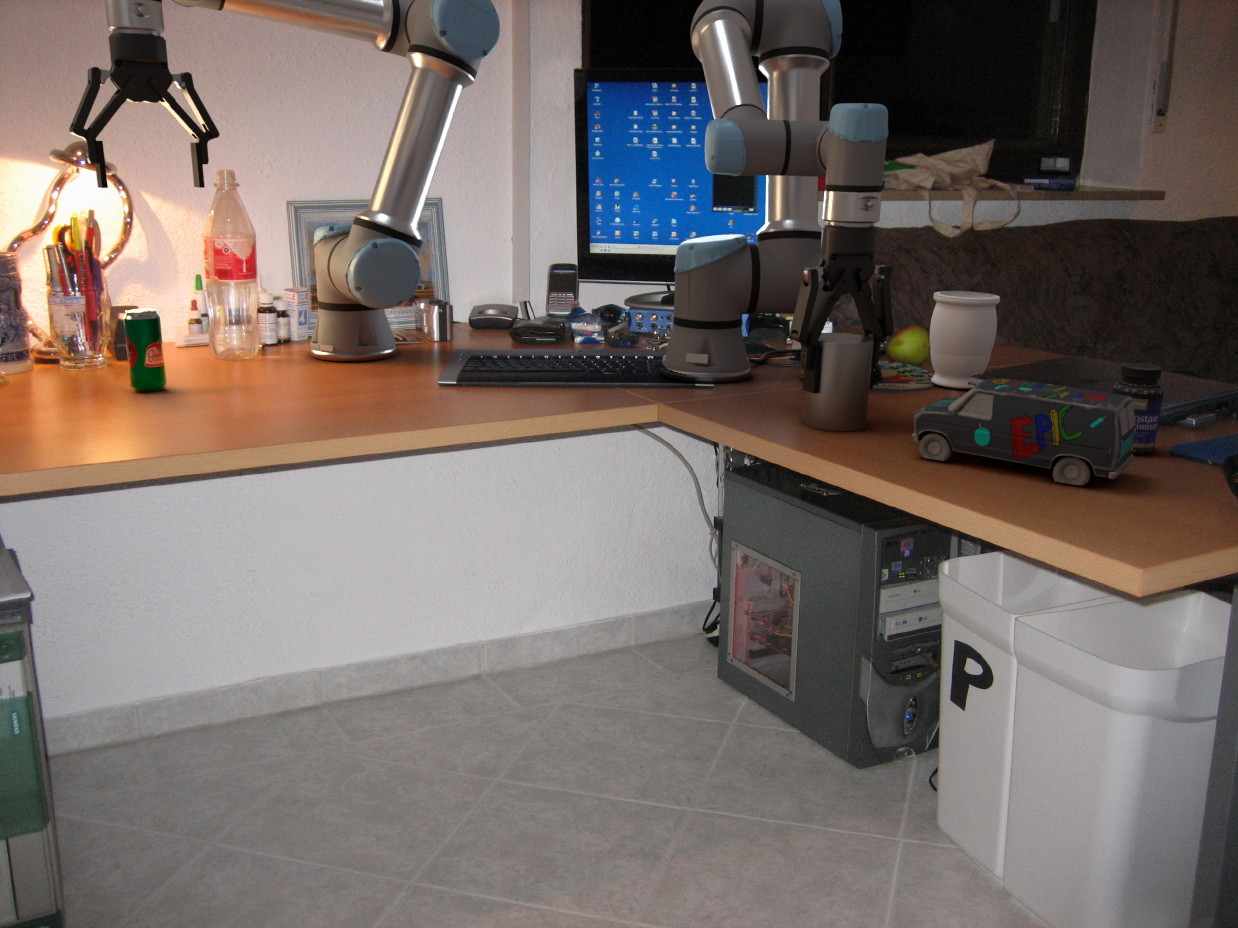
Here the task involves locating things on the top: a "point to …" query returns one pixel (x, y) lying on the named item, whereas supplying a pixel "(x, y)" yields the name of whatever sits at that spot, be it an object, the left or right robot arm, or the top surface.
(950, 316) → the jar
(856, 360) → the can
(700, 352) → the right robot arm
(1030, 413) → the toy van
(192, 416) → the top surface
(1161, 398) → the pill bottle
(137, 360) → the soda can
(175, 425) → the top surface
